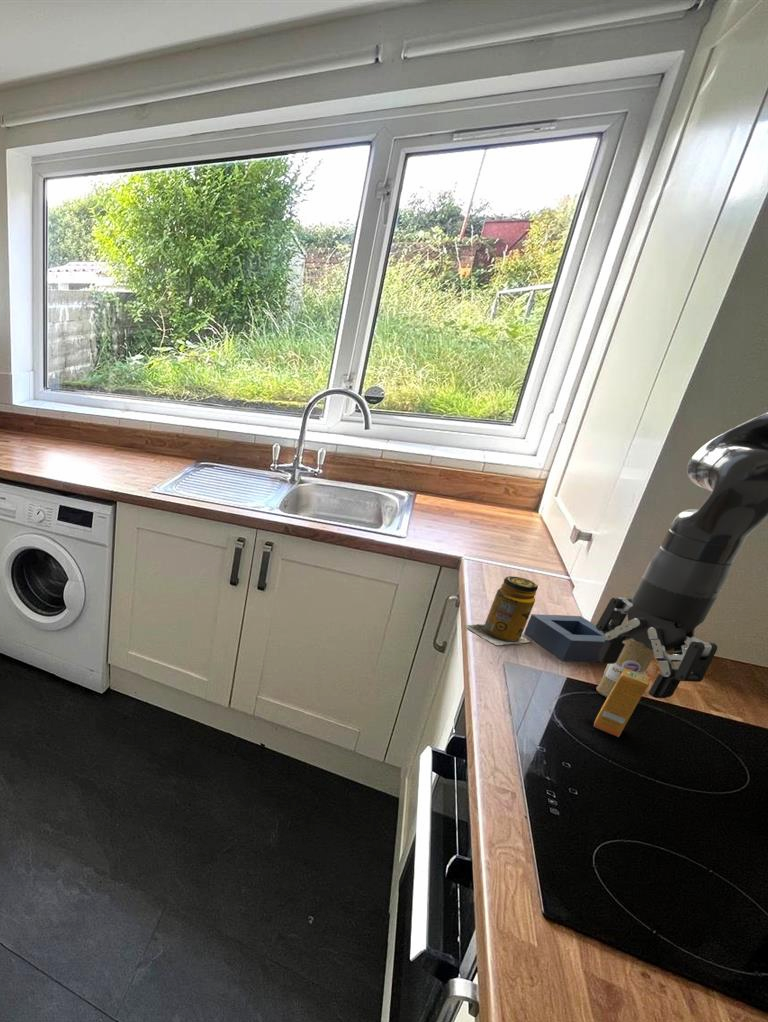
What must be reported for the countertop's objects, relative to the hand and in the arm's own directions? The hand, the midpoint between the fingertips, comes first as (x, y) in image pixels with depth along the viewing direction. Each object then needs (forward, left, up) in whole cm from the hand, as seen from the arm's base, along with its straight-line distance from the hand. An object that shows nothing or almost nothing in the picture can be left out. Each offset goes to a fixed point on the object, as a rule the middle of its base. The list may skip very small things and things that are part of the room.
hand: (630, 678), depth 88 cm
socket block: (+24, -13, -9) cm, 29 cm away
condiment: (+28, -2, -9) cm, 29 cm away
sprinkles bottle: (+8, -9, -9) cm, 15 cm away
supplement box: (0, 0, -9) cm, 9 cm away
